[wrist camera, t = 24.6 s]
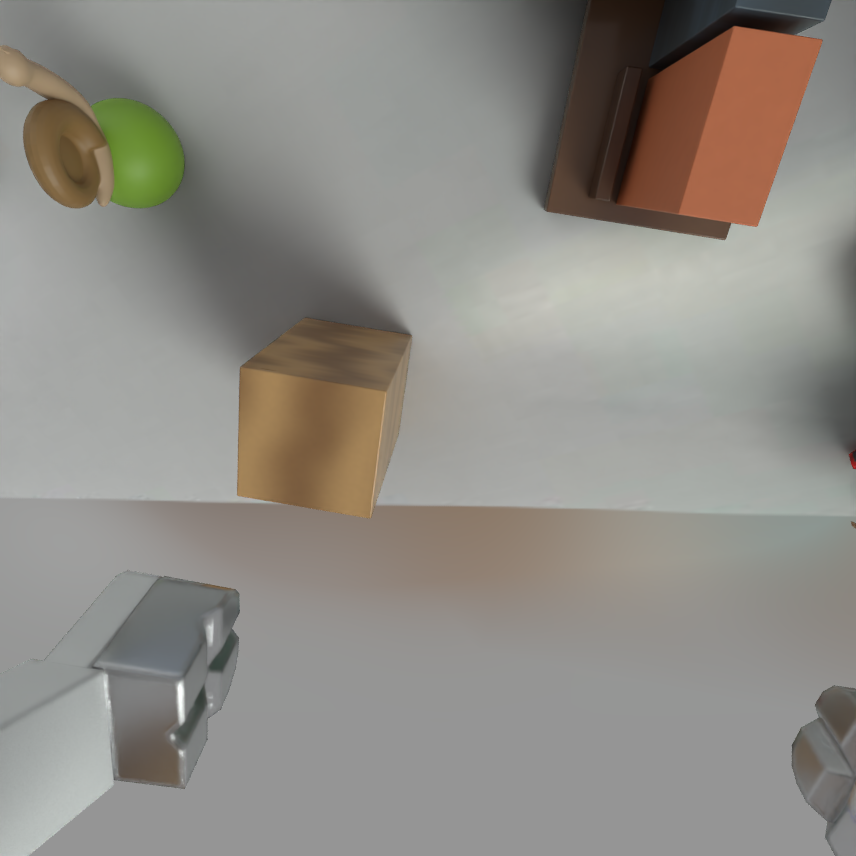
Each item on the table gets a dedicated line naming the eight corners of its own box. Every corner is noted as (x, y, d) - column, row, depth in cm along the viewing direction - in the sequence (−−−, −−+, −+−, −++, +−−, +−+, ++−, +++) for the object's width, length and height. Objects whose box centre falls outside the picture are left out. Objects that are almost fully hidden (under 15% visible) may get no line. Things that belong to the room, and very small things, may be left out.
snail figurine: (186, 80, 33) (36, 28, 22) (209, 203, 35) (86, 212, 24) (95, 89, 33) (-96, 42, 22) (124, 209, 36) (-35, 220, 25)
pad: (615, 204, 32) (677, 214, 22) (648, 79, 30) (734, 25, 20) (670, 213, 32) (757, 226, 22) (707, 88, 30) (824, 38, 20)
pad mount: (543, 210, 34) (575, 224, 22) (607, -95, 28) (693, -284, 17) (716, 237, 34) (837, 266, 22) (814, -64, 28) (1042, -234, 17)
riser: (298, 417, 40) (236, 496, 30) (304, 317, 38) (239, 366, 27) (398, 434, 40) (370, 519, 30) (412, 334, 37) (387, 391, 27)
